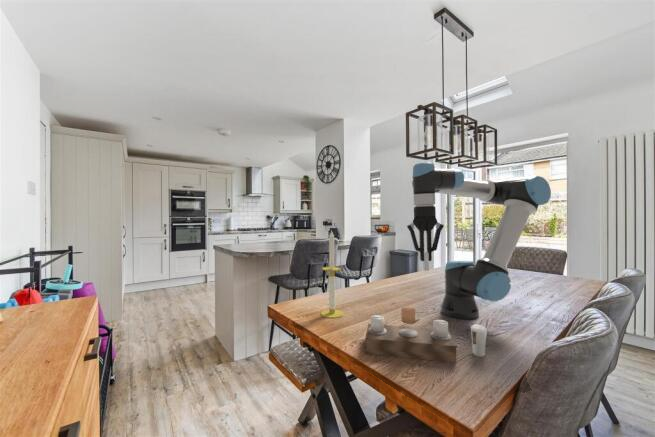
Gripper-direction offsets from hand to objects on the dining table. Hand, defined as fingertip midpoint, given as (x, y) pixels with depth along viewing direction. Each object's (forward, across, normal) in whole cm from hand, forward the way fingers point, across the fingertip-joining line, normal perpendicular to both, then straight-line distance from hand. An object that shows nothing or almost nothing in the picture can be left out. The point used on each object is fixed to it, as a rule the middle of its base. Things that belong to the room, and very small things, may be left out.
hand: (426, 269), depth 106 cm
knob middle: (+14, +8, +14) cm, 21 cm away
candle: (+23, +38, -15) cm, 47 cm away
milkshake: (+24, -12, +15) cm, 31 cm away
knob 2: (+18, -1, +14) cm, 23 cm away
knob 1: (+17, +19, +13) cm, 28 cm away
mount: (+23, +9, +14) cm, 28 cm away
